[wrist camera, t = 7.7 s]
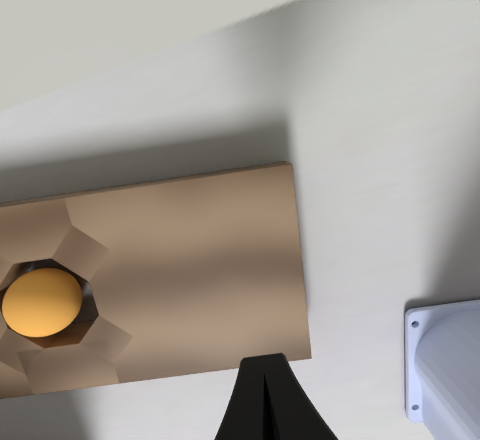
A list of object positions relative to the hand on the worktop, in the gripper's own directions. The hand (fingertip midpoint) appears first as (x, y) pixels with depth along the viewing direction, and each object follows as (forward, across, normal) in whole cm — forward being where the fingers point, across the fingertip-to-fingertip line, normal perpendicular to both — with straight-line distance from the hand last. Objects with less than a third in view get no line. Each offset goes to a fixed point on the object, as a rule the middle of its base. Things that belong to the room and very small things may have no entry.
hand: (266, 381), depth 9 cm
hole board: (+10, +7, 0) cm, 13 cm away
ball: (+8, +13, 0) cm, 15 cm away
